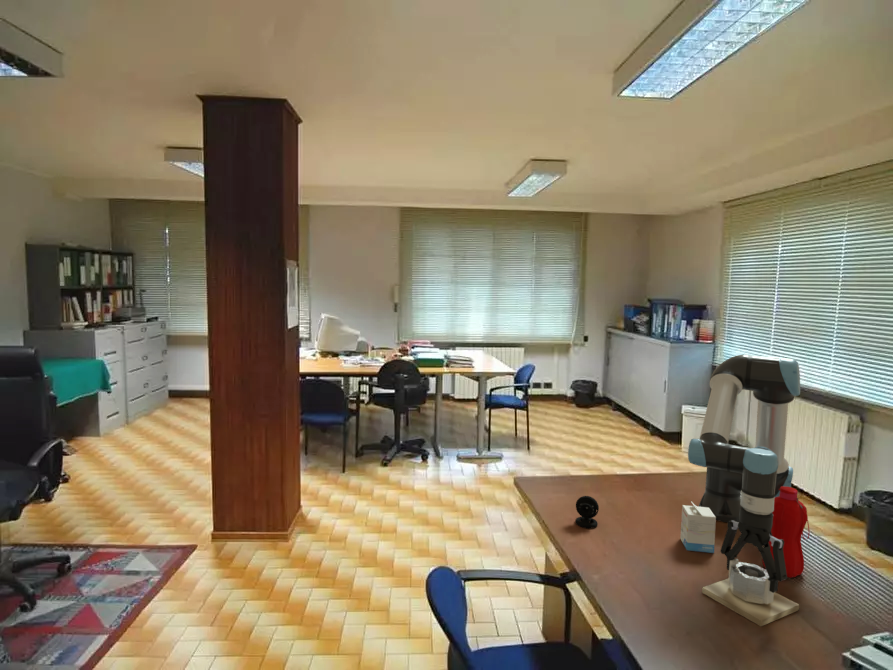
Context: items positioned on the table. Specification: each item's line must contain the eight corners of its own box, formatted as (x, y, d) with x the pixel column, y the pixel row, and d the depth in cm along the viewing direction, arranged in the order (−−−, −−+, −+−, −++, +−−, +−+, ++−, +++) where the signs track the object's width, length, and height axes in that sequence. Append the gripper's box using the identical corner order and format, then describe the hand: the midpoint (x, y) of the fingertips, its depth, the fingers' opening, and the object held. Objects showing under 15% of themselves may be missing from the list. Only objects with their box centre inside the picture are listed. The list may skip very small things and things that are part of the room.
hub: (744, 581, 144) (745, 559, 144) (777, 598, 136) (779, 575, 136) (723, 588, 140) (724, 566, 140) (756, 606, 132) (758, 583, 132)
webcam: (573, 526, 181) (574, 498, 180) (576, 518, 188) (577, 490, 187) (596, 530, 178) (598, 502, 177) (598, 522, 185) (600, 494, 184)
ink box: (714, 553, 164) (717, 512, 163) (685, 550, 166) (688, 509, 165) (706, 541, 173) (709, 501, 172) (679, 538, 174) (682, 499, 173)
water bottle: (795, 584, 147) (803, 498, 146) (757, 566, 157) (763, 484, 155) (814, 577, 152) (821, 493, 150) (775, 560, 161) (782, 480, 160)
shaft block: (739, 579, 149) (741, 552, 149) (798, 610, 135) (801, 580, 134) (702, 592, 142) (704, 564, 141) (760, 626, 128) (763, 594, 127)
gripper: (709, 496, 144) (703, 575, 146) (791, 528, 125) (784, 619, 127) (726, 492, 148) (720, 569, 150) (809, 523, 129) (801, 611, 130)
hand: (749, 592), depth 138 cm, fingers closed on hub, 9 cm apart
